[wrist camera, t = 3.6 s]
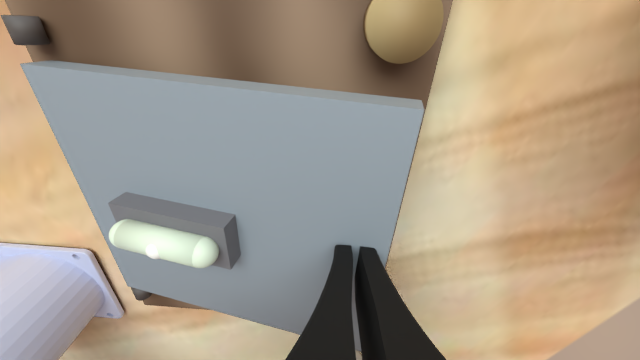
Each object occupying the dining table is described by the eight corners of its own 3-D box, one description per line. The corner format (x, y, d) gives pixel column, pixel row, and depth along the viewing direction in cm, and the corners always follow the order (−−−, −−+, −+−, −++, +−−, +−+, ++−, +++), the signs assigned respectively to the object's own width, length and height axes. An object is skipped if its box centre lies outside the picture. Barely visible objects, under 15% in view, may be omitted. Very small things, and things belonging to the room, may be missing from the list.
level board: (141, 272, 19) (97, 316, 17) (51, 60, 12) (-57, 72, 9) (365, 332, 16) (358, 398, 14) (421, 99, 9) (432, 136, 6)
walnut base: (152, 293, 22) (131, 324, 20) (5, -52, 11) (-78, -69, 9) (370, 310, 22) (374, 343, 20) (450, -28, 11) (480, -40, 8)
